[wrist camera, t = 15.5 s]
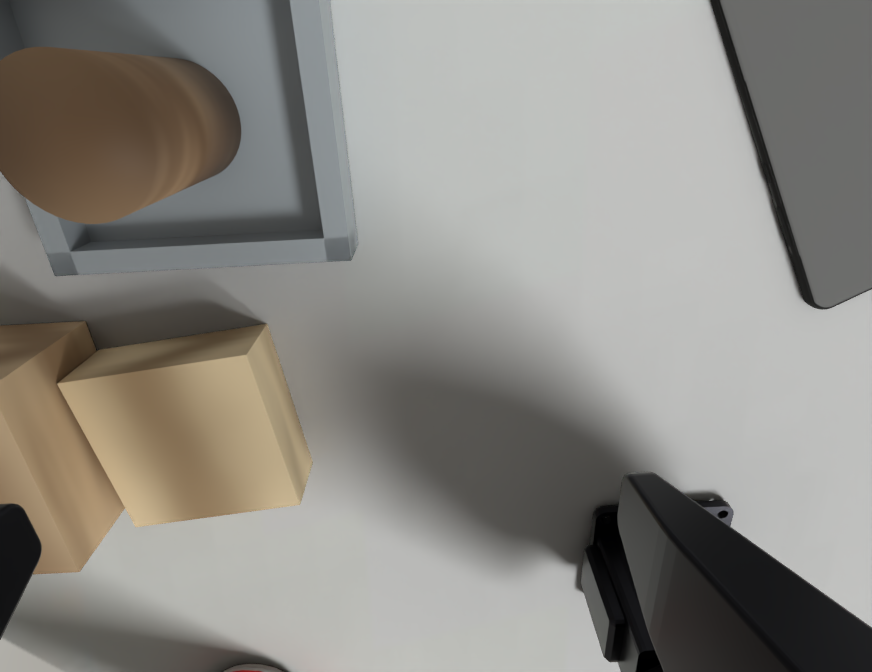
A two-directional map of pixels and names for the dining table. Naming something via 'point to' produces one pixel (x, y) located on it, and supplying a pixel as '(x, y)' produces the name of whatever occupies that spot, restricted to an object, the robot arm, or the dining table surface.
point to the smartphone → (811, 130)
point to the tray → (260, 134)
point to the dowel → (110, 129)
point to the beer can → (252, 668)
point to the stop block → (51, 445)
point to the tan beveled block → (193, 425)
